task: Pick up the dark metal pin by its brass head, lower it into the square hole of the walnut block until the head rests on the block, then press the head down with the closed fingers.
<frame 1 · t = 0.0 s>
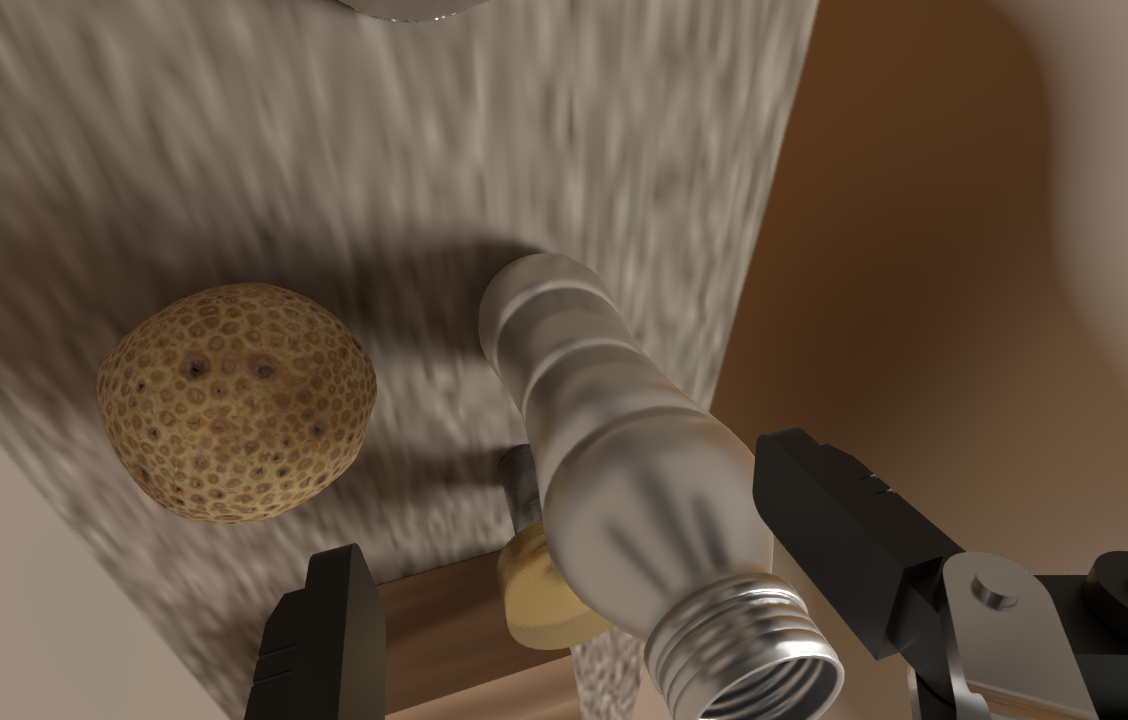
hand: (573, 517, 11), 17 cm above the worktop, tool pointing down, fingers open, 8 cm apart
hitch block: (463, 628, 38), on the worktop
natural sponge: (277, 336, 25), on the worktop
plastic bottle: (536, 303, 28), on the worktop
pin: (524, 465, 33), on the worktop
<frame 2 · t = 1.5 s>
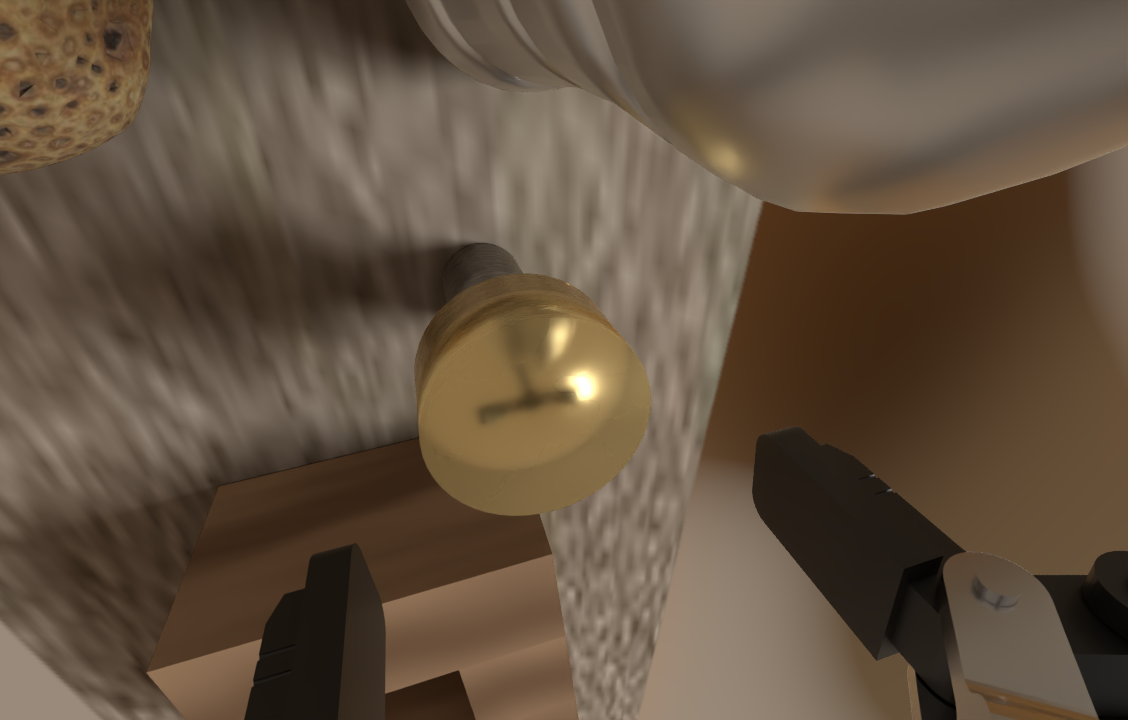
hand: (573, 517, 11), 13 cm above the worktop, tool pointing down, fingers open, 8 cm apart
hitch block: (406, 553, 27), on the worktop
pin: (482, 281, 21), on the worktop
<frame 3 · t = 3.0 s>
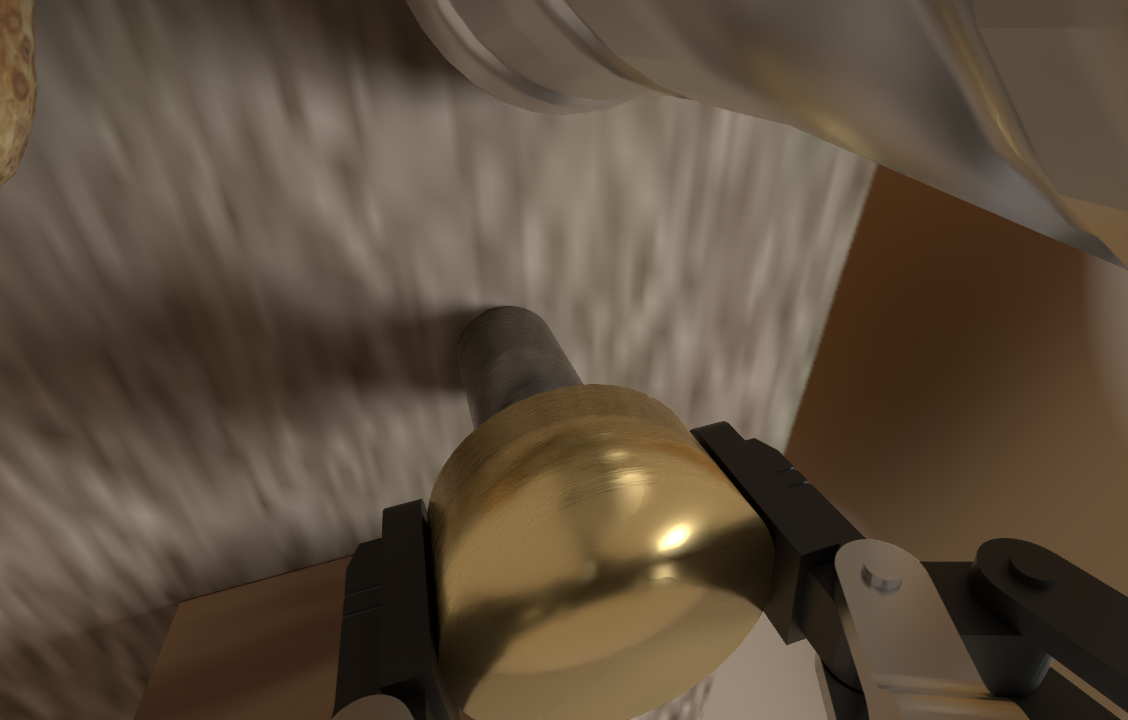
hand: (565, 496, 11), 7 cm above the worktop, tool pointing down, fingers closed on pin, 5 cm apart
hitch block: (411, 662, 22), on the worktop
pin: (506, 351, 17), on the worktop, touching gripper
when the fingers open (9 cm above the worktop, at t = 9.2 s): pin stays where it is, resting on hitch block.
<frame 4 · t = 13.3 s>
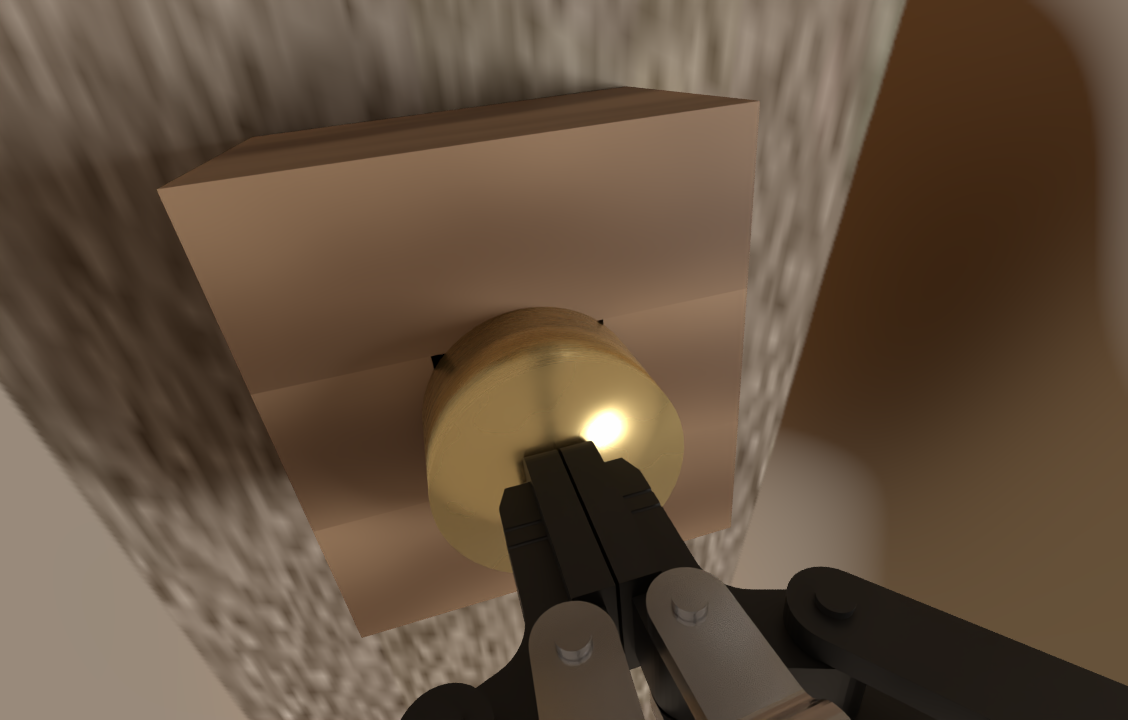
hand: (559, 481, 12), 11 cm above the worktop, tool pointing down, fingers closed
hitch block: (485, 296, 21), on the worktop
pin: (492, 305, 20), point 1 cm above the worktop, touching gripper, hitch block
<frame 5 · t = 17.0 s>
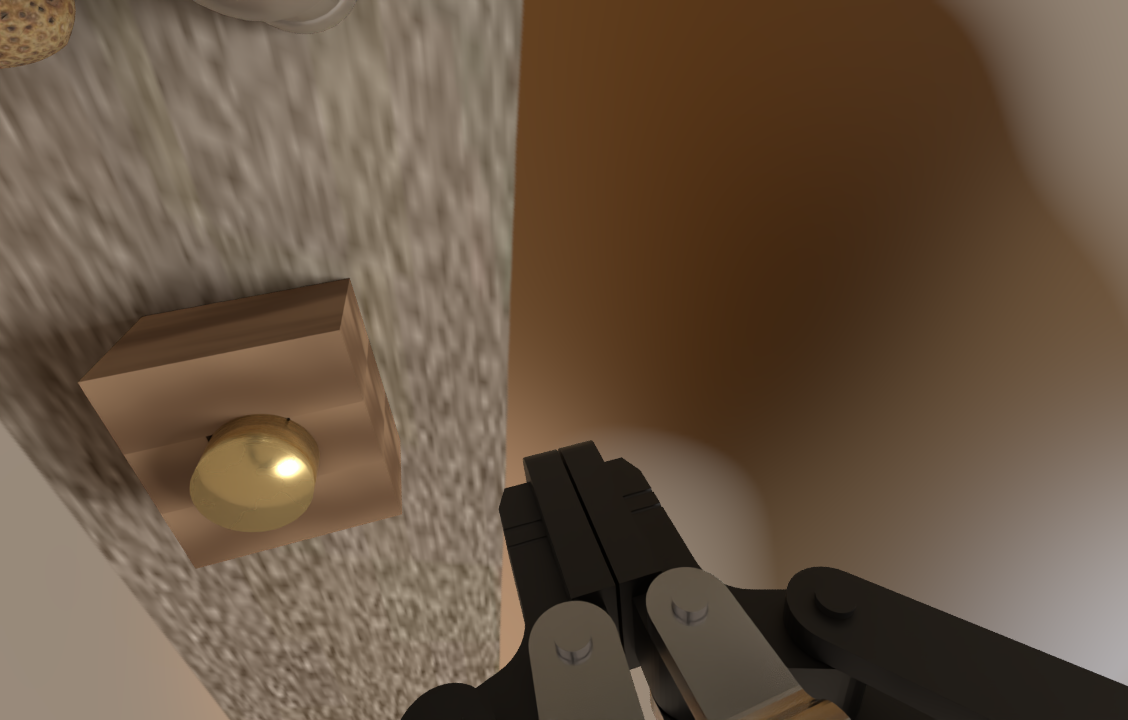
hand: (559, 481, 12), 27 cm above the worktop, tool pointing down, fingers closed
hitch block: (286, 385, 37), on the worktop
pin: (285, 392, 37), point 1 cm above the worktop, touching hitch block
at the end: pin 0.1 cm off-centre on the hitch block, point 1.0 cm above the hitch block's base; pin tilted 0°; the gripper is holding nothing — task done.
